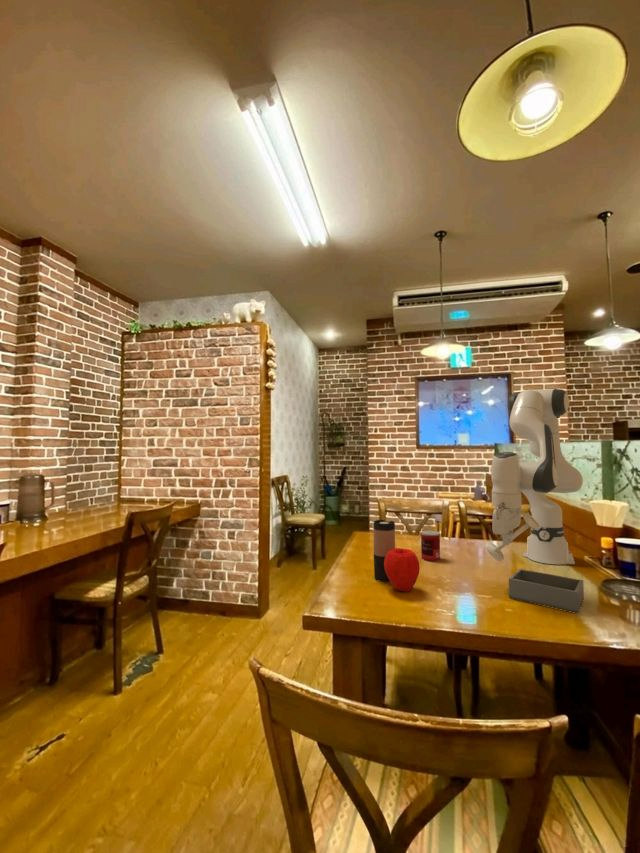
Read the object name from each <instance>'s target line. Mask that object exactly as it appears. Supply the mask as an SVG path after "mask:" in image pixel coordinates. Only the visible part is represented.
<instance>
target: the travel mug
mask: <svg viewBox="0 0 640 853" xmlns="http://www.w3.org/2000/svg"><path fill="white" fill-rule="evenodd" d="M395 523H396V522H395V521H393V520H390V521H386V520H385V519H377V520H373V570H374V572H373V573H374V580H376V581H378V580H379V581H378V582H382V581H383V583H385V582H386V583H389V582H390V580H389V579H388V577H387V575H386V572H385V569H384V560H385V557H386V554H387V553H388V552H389V551H390V550H392V549H394V548H396V526H395V525H396V524H395ZM390 583H391V582H390Z"/></svg>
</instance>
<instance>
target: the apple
mask: <svg viewBox="0 0 640 853" xmlns="http://www.w3.org/2000/svg"><path fill="white" fill-rule="evenodd" d="M420 568H421V567H420V561H419V558H418V556H417V555H416V553H415V552H414V551H412V550H411V549H407V548H403V547H402V548H400V547H395V548H394V549H392V550H390V551H389V552H388V553H387V554H386V557H385V560H384V569H385V572H386V575H387V577H388V579H389V580H390V584H391V585H392V586H393V588H394V589H395V590H397V591H399V592H406V593H407V592H409V591H411V589H413V587H414V585H415V584H416V582H417V581H418V578H419V574H420Z"/></svg>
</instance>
